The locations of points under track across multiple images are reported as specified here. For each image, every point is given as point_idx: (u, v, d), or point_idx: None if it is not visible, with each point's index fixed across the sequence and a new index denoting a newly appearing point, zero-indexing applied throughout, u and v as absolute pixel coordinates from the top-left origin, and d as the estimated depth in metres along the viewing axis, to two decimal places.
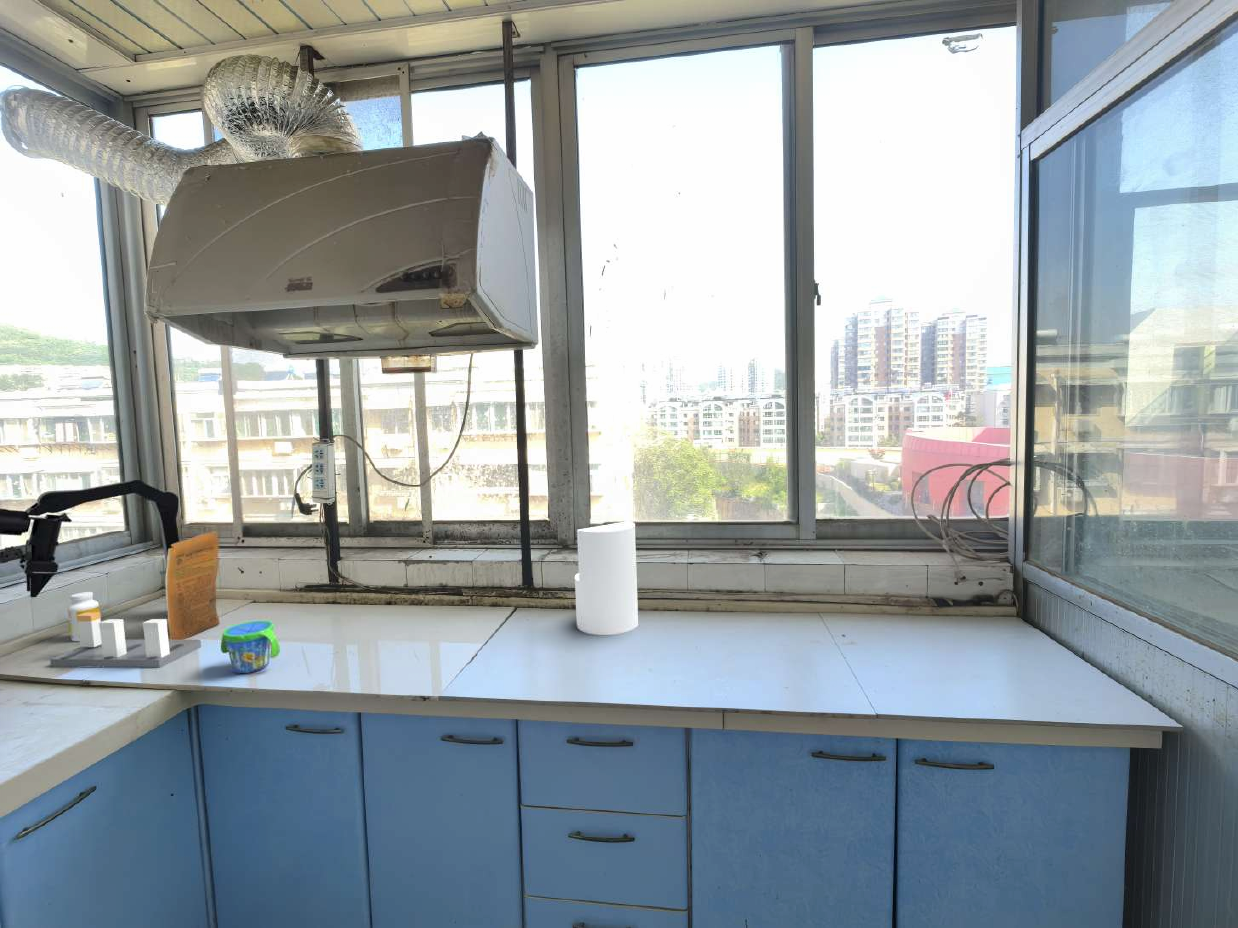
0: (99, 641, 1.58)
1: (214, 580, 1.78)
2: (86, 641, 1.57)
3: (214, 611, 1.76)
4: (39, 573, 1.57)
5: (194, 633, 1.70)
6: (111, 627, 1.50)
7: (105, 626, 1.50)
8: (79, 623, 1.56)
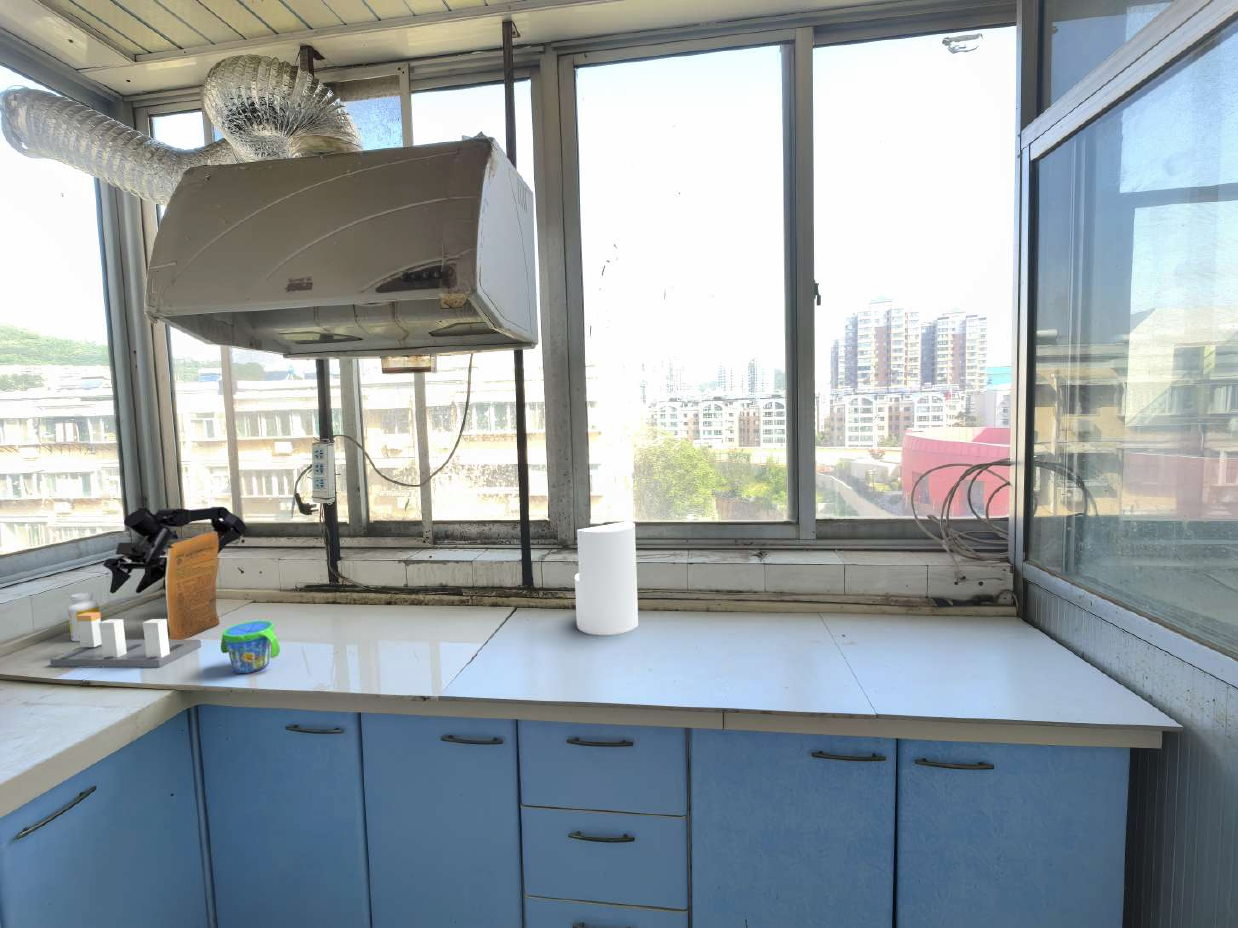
0: (99, 641, 1.58)
1: (214, 580, 1.78)
2: (86, 641, 1.57)
3: (214, 611, 1.76)
4: (160, 570, 1.71)
5: (194, 633, 1.70)
6: (111, 627, 1.50)
7: (105, 626, 1.50)
8: (79, 623, 1.56)
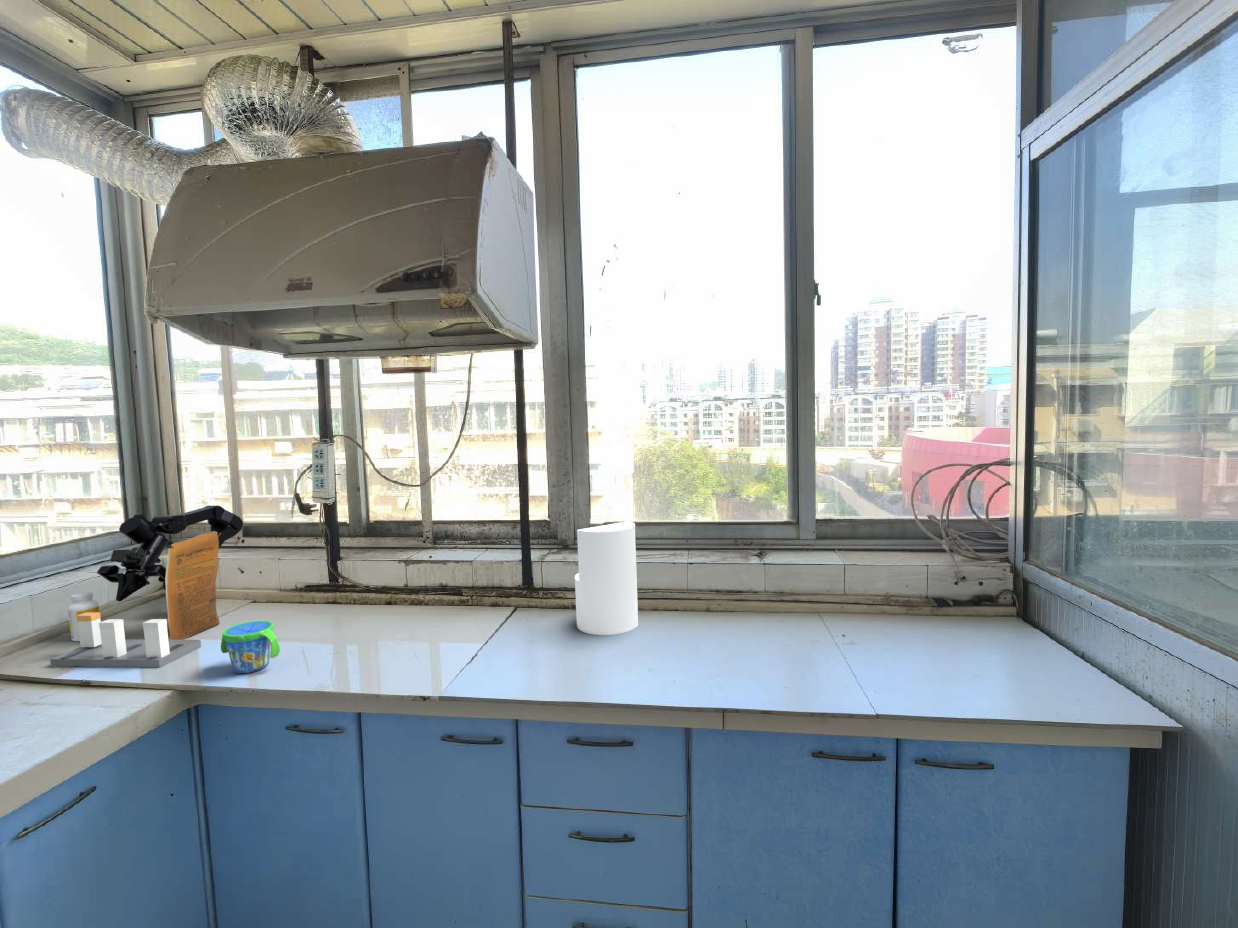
0: (99, 641, 1.58)
1: (214, 580, 1.78)
2: (86, 641, 1.57)
3: (214, 611, 1.76)
4: (143, 578, 1.70)
5: (194, 633, 1.70)
6: (111, 627, 1.50)
7: (105, 626, 1.50)
8: (79, 623, 1.56)
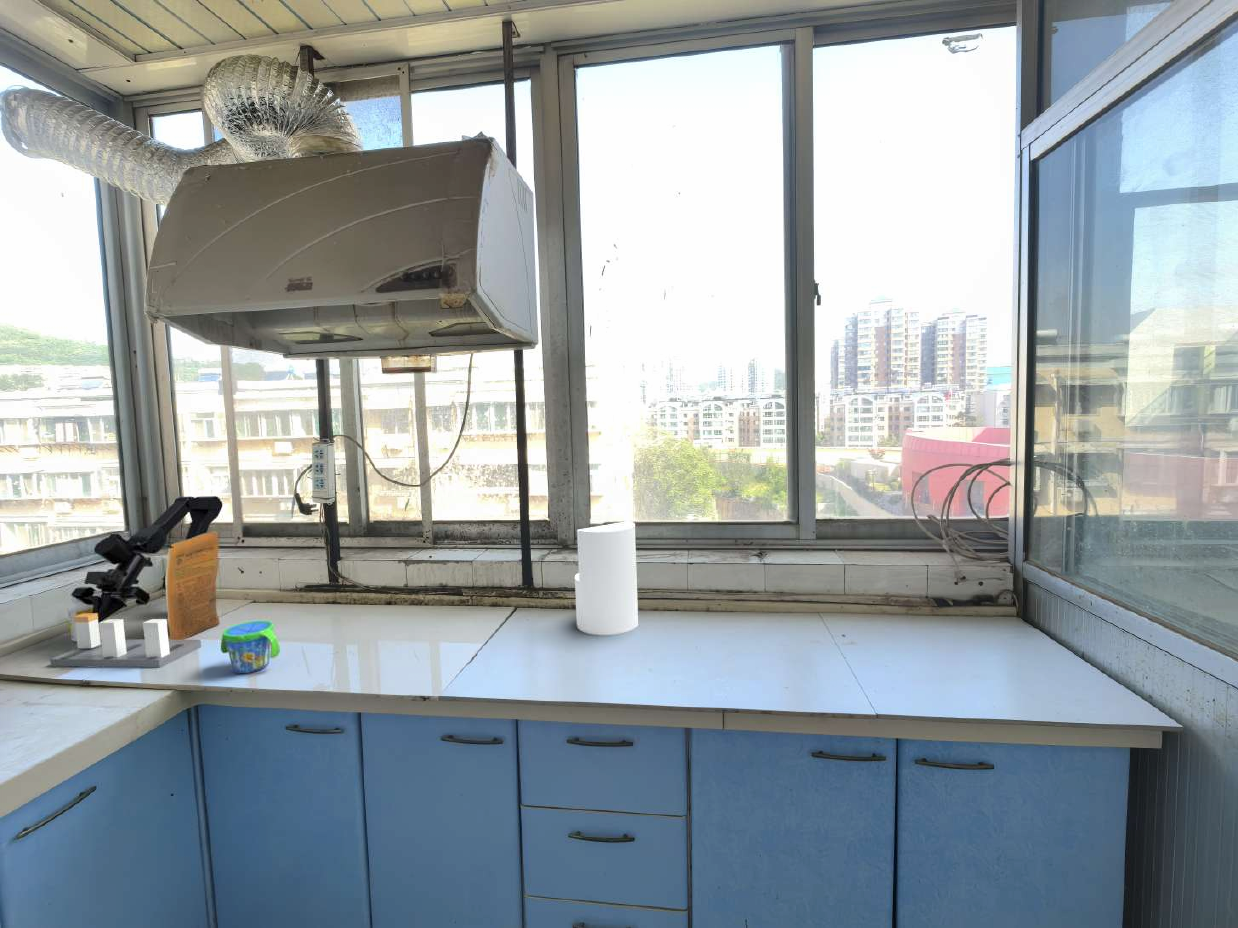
0: (96, 642, 1.57)
1: (214, 580, 1.78)
2: (83, 642, 1.56)
3: (214, 611, 1.76)
4: (119, 601, 1.62)
5: (194, 633, 1.70)
6: (111, 627, 1.50)
7: (105, 626, 1.50)
8: (76, 624, 1.56)
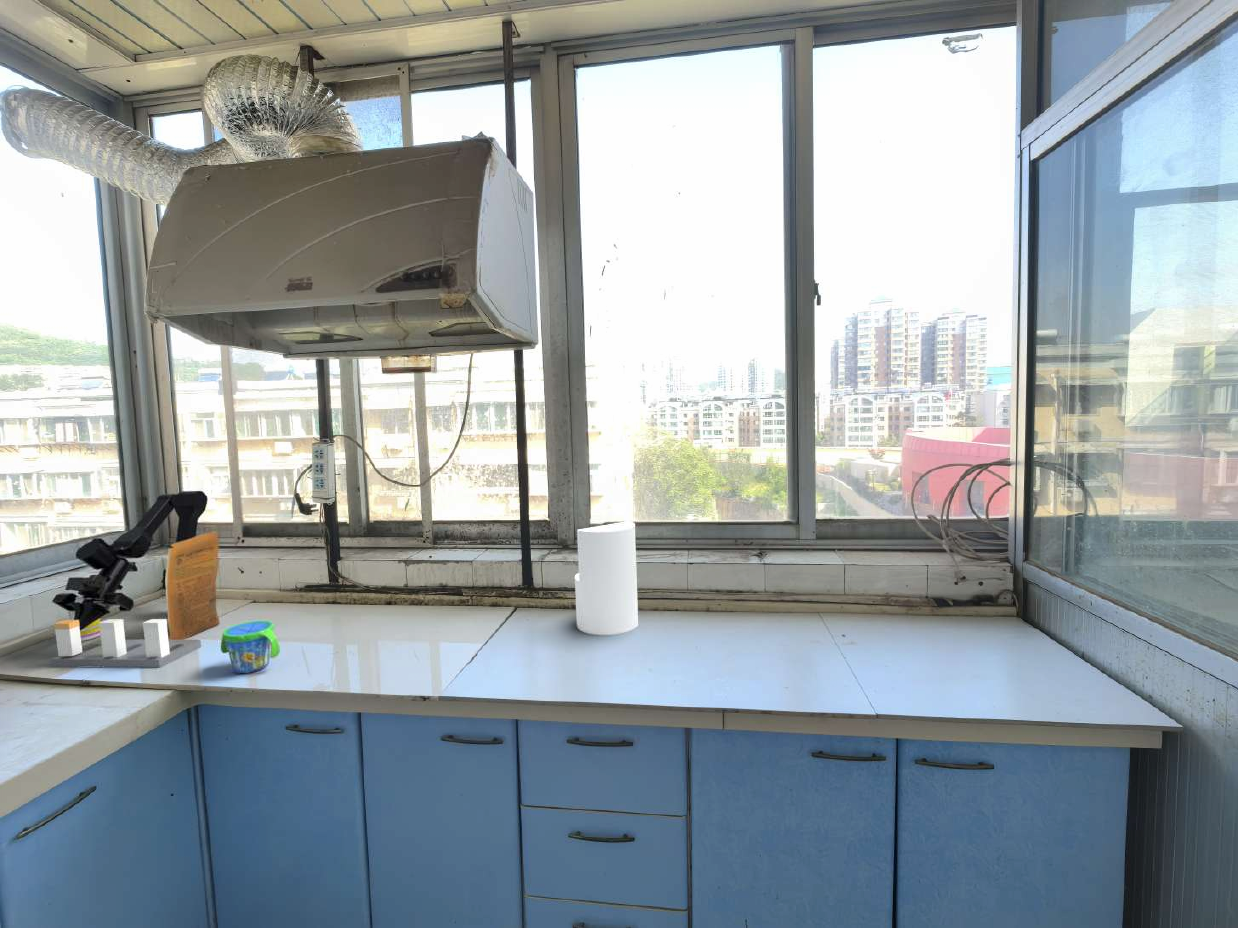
0: (78, 650, 1.53)
1: (214, 580, 1.78)
2: (64, 650, 1.51)
3: (214, 611, 1.76)
4: (102, 607, 1.57)
5: (194, 633, 1.70)
6: (111, 627, 1.50)
7: (105, 626, 1.50)
8: (57, 631, 1.51)
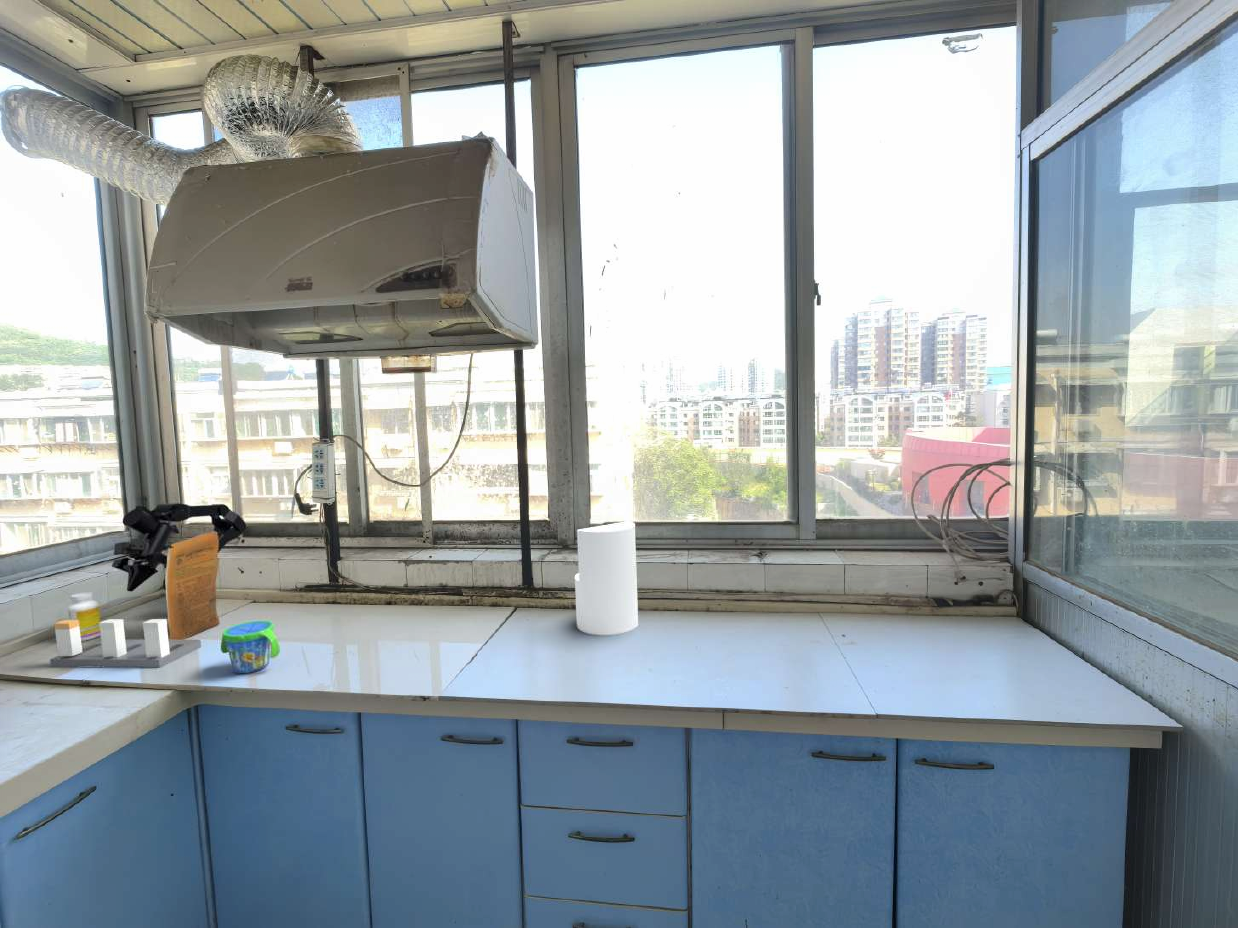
0: (78, 650, 1.53)
1: (214, 580, 1.78)
2: (64, 650, 1.51)
3: (214, 611, 1.76)
4: (148, 567, 1.72)
5: (194, 633, 1.70)
6: (111, 627, 1.50)
7: (105, 626, 1.50)
8: (57, 631, 1.51)
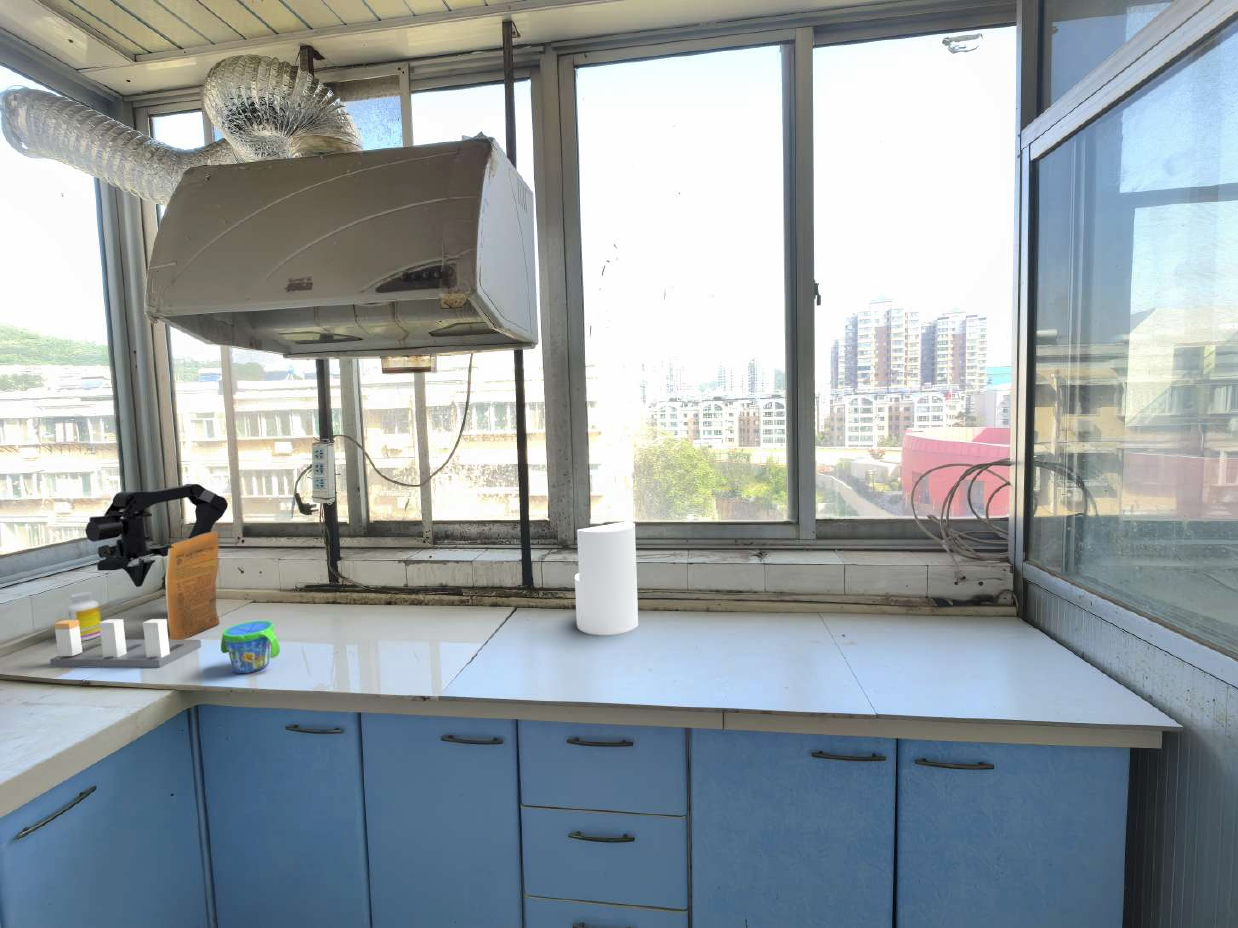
0: (78, 650, 1.53)
1: (214, 580, 1.78)
2: (64, 650, 1.51)
3: (214, 611, 1.76)
4: None
5: (194, 633, 1.70)
6: (111, 627, 1.50)
7: (105, 626, 1.50)
8: (57, 631, 1.51)
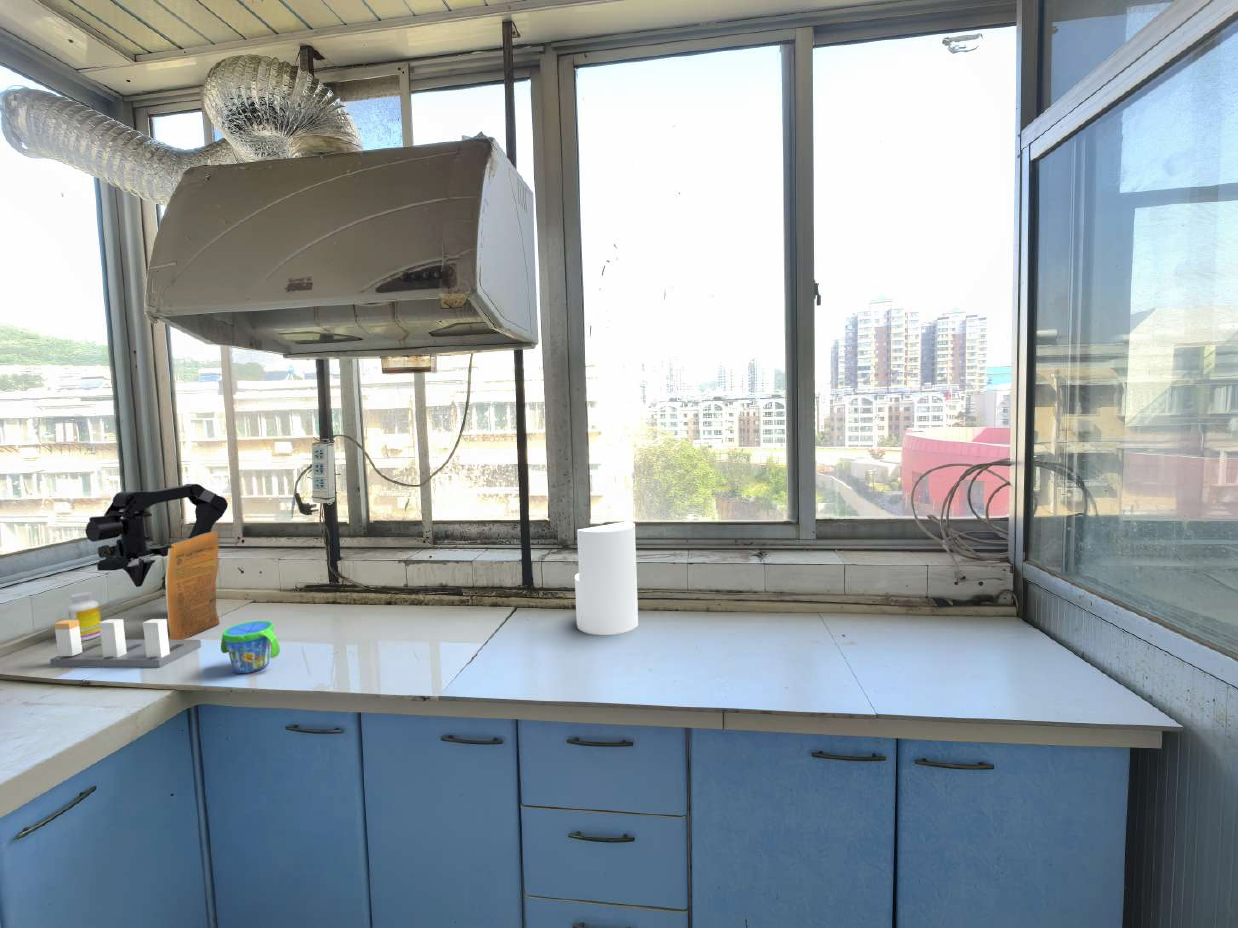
0: (78, 650, 1.53)
1: (214, 580, 1.78)
2: (64, 650, 1.51)
3: (214, 611, 1.76)
4: None
5: (194, 633, 1.70)
6: (111, 627, 1.50)
7: (105, 626, 1.50)
8: (57, 631, 1.51)
